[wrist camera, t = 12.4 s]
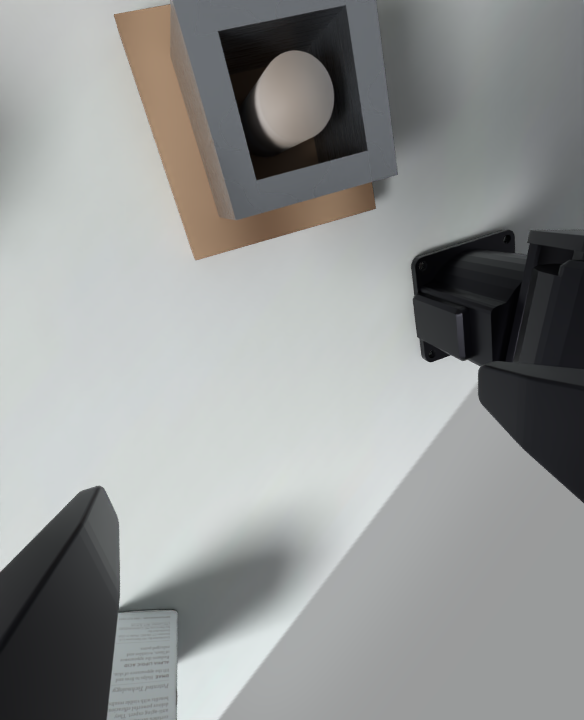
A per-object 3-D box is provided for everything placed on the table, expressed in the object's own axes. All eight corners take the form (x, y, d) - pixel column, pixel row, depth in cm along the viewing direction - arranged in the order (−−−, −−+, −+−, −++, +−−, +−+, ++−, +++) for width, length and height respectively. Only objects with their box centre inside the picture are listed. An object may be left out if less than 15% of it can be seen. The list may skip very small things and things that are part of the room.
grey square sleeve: (315, 25, 16) (370, -44, 12) (343, 182, 19) (397, 174, 14) (170, 55, 15) (170, -7, 11) (219, 217, 18) (236, 220, 13)
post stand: (328, -9, 17) (409, -118, 12) (362, 208, 21) (436, 208, 15) (118, 30, 16) (88, -72, 10) (193, 256, 20) (204, 277, 14)
